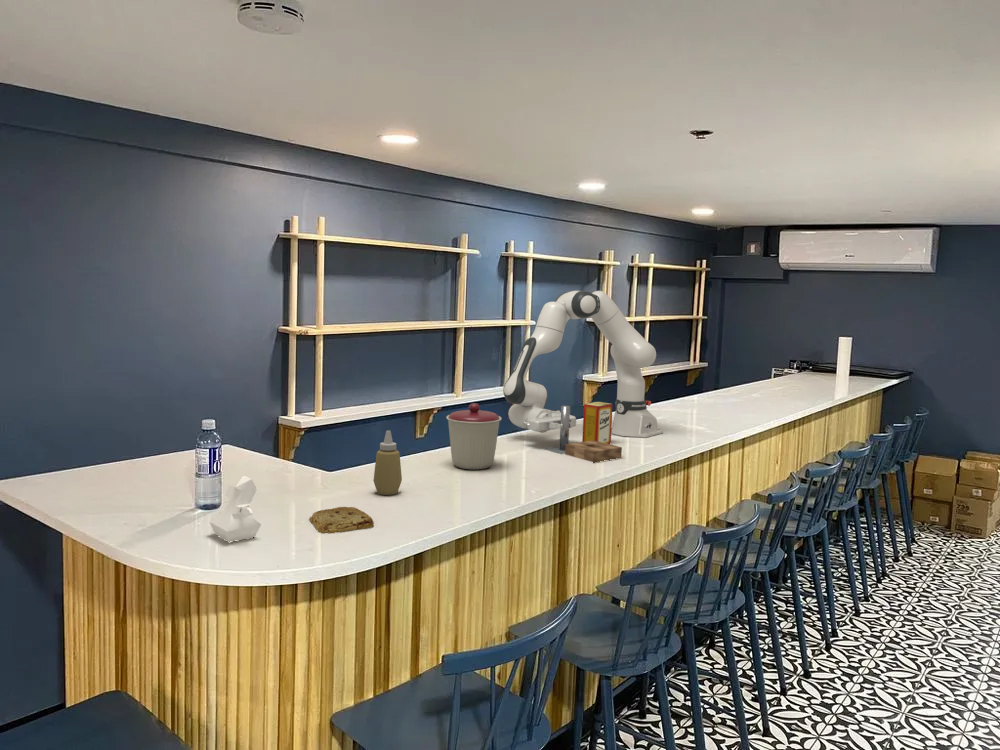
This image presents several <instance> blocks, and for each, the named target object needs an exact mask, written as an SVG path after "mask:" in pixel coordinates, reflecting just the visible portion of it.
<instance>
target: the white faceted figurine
mask: <svg viewBox="0 0 1000 750" xmlns="http://www.w3.org/2000/svg"><path fill="white" fill-rule="evenodd" d="M256 491H257V487H256V485H255V483H254V481H253V479H252V478H251V477H248V476H246V475H243V476H242V477H241V478H240V480H239V481H238V483H237V484H236V486H233V485H230V484H228V486H227V488H226V491H225V494H224V497H226V498H229V499H228V501H227V503H226V505H225V506H224V509H223V510H222V511H220V512H219V513H218V514H217V515H216V516H214V517H213V518H212V519H210V520H209V521H208V522H209V524H210V527H211V528H212V530H213V532H214V534H215V536H216V535H218V536H220V537H221V538H223V539H225V540H227V541H229V542H230V541H235V540H242V539H247V538H251V539H254V538H253V537H255V538H256V536H257V534H258V533H259V530H260V528H261V526H262V524H261V523H260V522H259V521H257V519H255V517H253V514H254V512H253V510H252V509H251V508H250V505H251V502H252V500H253V499H254V497H255V495H256ZM218 536H217V537H218ZM221 538H220V539H221ZM223 539H222V540H223ZM225 540H224V541H225ZM247 540H248V539H247ZM242 541H243V540H242Z"/></svg>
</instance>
